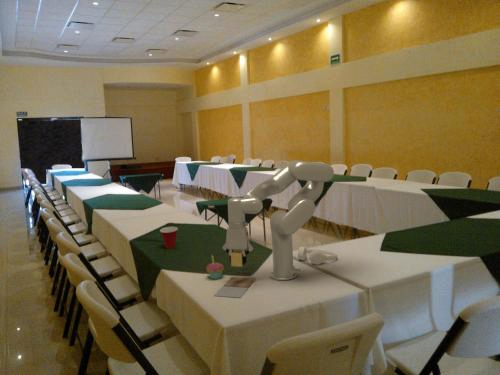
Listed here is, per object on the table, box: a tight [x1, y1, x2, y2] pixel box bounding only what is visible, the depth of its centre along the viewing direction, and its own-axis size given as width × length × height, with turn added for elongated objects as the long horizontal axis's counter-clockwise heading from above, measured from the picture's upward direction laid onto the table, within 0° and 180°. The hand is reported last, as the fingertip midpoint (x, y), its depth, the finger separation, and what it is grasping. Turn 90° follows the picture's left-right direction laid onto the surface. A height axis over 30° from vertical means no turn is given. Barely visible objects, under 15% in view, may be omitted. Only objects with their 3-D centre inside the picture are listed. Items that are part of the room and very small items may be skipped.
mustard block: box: [230, 250, 244, 268], centre depth 192 cm, size 5×5×6 cm
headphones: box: [297, 246, 338, 266], centre depth 223 cm, size 7×18×20 cm
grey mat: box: [213, 285, 249, 299], centre depth 183 cm, size 12×11×1 cm
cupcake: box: [205, 255, 225, 280], centre depth 202 cm, size 9×8×12 cm
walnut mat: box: [223, 276, 257, 289], centre depth 194 cm, size 12×11×1 cm
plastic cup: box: [159, 226, 179, 250], centre depth 258 cm, size 11×11×12 cm
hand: (238, 263), depth 193 cm, fingers closed on mustard block, 5 cm apart
